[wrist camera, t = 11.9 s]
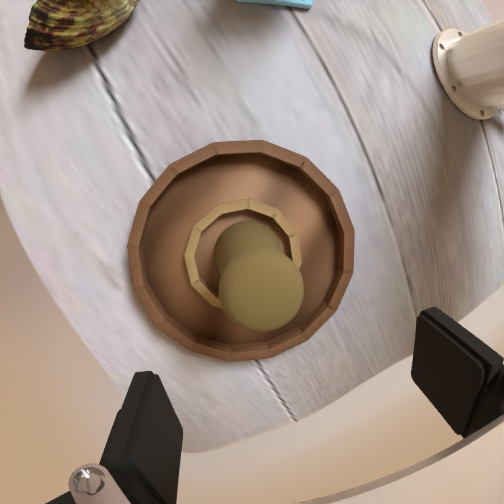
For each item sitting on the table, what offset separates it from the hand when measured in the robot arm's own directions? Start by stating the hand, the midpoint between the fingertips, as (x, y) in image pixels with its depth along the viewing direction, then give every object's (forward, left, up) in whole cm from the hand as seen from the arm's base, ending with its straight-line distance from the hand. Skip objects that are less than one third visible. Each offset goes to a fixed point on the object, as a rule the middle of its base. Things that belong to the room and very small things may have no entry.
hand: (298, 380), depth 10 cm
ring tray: (0, 0, -20) cm, 20 cm away
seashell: (+23, -19, -20) cm, 36 cm away
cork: (0, 0, -19) cm, 19 cm away
